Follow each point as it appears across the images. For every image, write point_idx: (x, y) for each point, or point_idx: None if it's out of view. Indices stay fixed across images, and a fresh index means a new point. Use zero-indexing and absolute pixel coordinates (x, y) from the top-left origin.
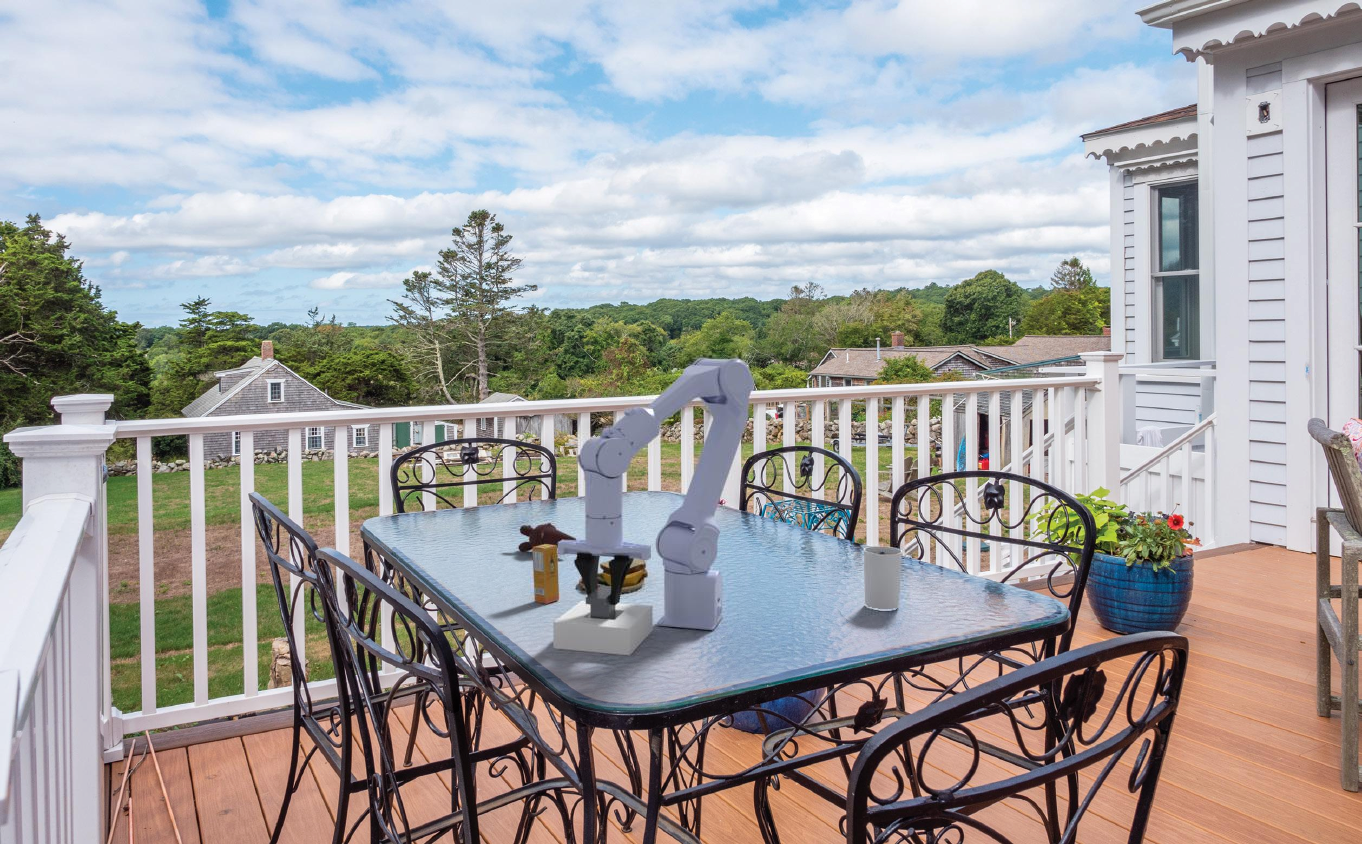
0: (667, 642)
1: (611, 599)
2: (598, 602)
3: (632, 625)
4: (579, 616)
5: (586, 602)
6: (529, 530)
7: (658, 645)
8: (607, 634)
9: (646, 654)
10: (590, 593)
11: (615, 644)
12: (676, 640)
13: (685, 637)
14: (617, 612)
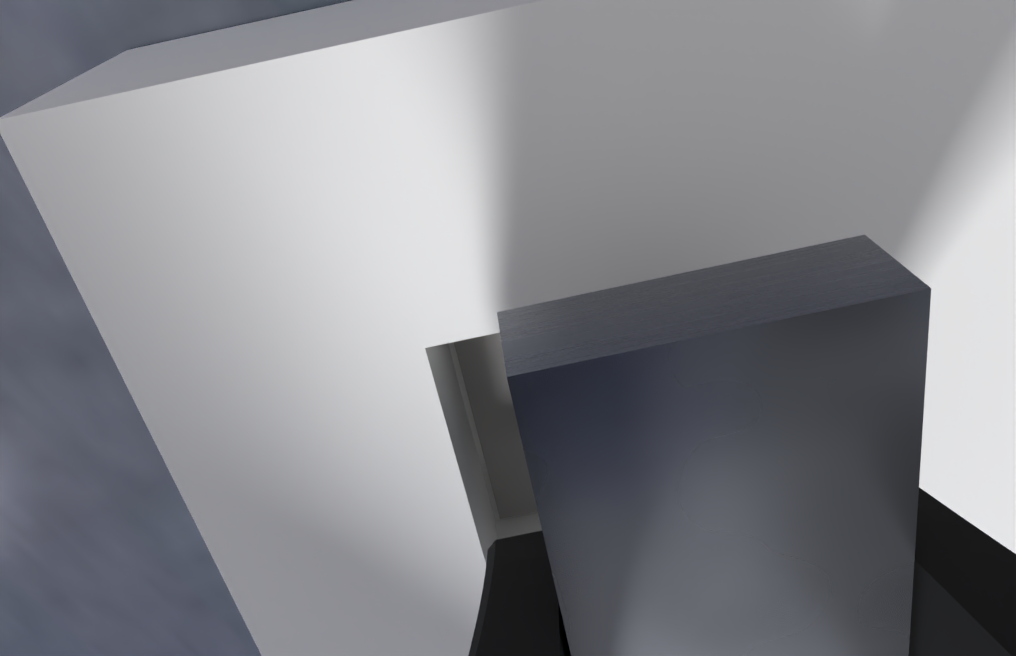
0: (85, 486)
1: (542, 576)
2: (626, 311)
3: (72, 265)
4: (904, 262)
5: (864, 253)
6: None
7: (96, 401)
8: (343, 30)
9: (12, 158)
10: (932, 552)
11: (257, 33)
12: (58, 548)
13: (50, 621)
14: None
